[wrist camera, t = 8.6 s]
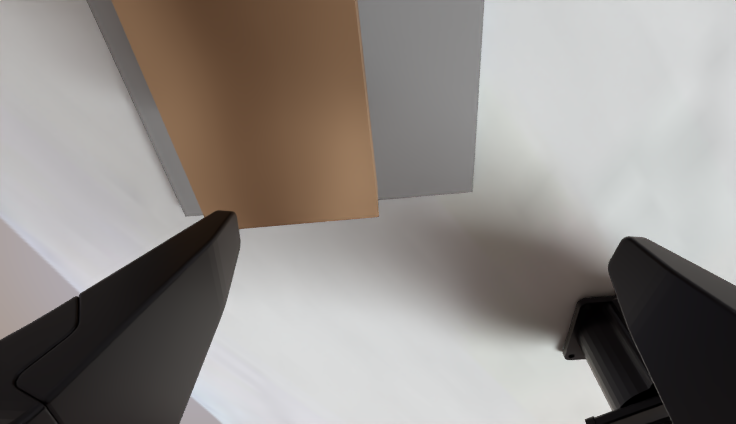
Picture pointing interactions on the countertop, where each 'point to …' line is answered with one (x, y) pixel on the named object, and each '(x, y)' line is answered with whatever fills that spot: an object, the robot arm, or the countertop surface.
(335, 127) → the stool
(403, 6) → the mat
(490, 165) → the countertop surface
